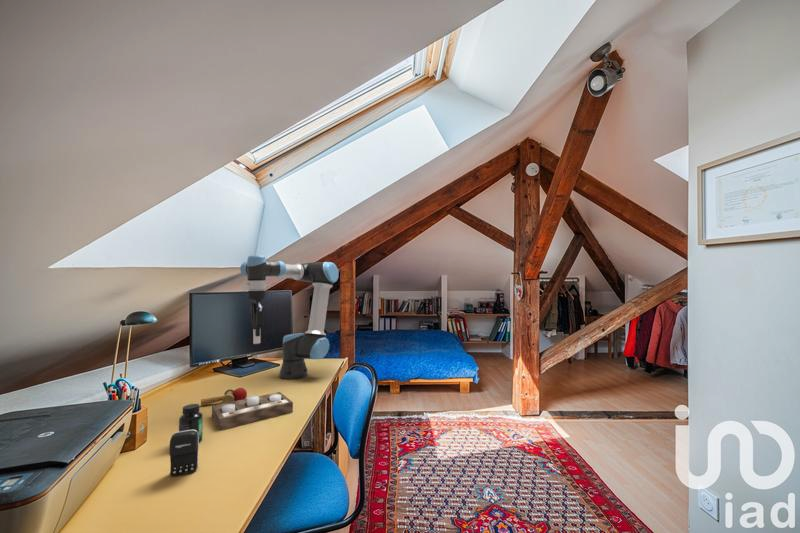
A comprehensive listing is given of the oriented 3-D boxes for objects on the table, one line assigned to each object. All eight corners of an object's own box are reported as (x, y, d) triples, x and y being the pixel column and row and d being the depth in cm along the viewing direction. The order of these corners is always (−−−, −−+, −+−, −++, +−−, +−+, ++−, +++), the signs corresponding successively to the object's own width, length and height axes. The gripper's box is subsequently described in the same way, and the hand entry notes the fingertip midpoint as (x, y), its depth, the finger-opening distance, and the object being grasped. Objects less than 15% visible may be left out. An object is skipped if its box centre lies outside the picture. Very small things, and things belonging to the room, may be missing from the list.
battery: (167, 479, 95) (168, 437, 95) (170, 472, 98) (170, 432, 99) (197, 473, 98) (197, 432, 98) (198, 466, 101) (199, 427, 102)
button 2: (279, 404, 149) (279, 393, 149) (282, 407, 145) (282, 396, 145) (268, 406, 146) (268, 395, 146) (271, 409, 142) (271, 398, 142)
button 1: (233, 414, 138) (233, 403, 138) (236, 418, 134) (236, 406, 134) (220, 417, 135) (220, 405, 135) (223, 421, 131) (223, 409, 131)
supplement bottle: (206, 440, 117) (206, 405, 118) (185, 449, 112) (185, 411, 112) (195, 435, 121) (196, 401, 121) (174, 443, 115) (175, 407, 116)
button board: (279, 400, 155) (279, 391, 155) (292, 411, 142) (292, 401, 142) (211, 416, 138) (211, 405, 138) (219, 430, 125) (219, 418, 125)
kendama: (200, 413, 145) (246, 401, 151) (198, 397, 146) (244, 386, 152) (204, 409, 152) (248, 398, 158) (202, 395, 153) (246, 384, 159)
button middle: (257, 406, 143) (257, 395, 143) (260, 409, 140) (260, 398, 140) (245, 408, 140) (245, 397, 141) (248, 412, 137) (248, 400, 137)
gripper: (243, 289, 157) (244, 342, 157) (251, 291, 147) (252, 346, 146) (261, 289, 162) (261, 340, 161) (269, 290, 151) (270, 344, 151)
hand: (256, 343), depth 154 cm, fingers closed
